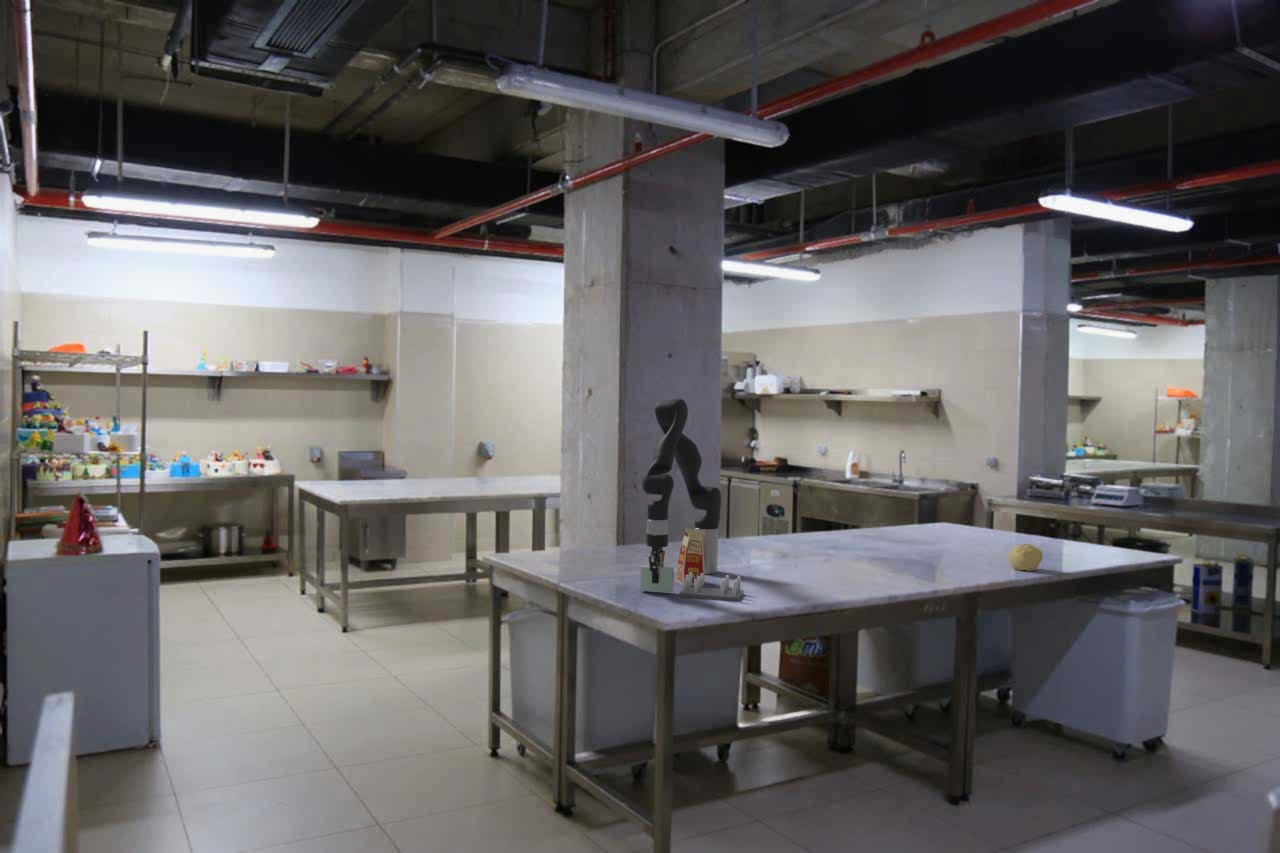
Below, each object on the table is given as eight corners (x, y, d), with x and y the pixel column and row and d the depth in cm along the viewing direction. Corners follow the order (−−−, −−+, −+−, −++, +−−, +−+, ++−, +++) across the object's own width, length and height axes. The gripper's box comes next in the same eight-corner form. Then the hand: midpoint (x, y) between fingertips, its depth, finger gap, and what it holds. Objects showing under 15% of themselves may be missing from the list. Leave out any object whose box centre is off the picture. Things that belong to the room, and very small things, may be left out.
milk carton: (683, 585, 321) (684, 529, 321) (675, 580, 330) (676, 526, 330) (707, 584, 324) (708, 529, 324) (698, 579, 333) (700, 526, 332)
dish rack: (686, 589, 314) (686, 572, 314) (743, 594, 309) (743, 576, 309) (679, 596, 303) (679, 578, 303) (738, 601, 298) (738, 582, 297)
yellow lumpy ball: (1023, 573, 362) (1024, 546, 362) (1002, 567, 374) (1003, 542, 373) (1046, 572, 366) (1047, 545, 366) (1025, 566, 377) (1026, 541, 377)
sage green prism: (642, 588, 311) (642, 565, 311) (673, 590, 308) (673, 567, 308) (640, 589, 308) (640, 566, 308) (671, 592, 306) (671, 568, 305)
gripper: (651, 528, 315) (650, 577, 316) (641, 534, 302) (640, 585, 303) (672, 529, 314) (671, 579, 314) (663, 535, 300) (662, 587, 301)
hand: (656, 582), depth 308 cm, fingers closed on sage green prism, 3 cm apart
